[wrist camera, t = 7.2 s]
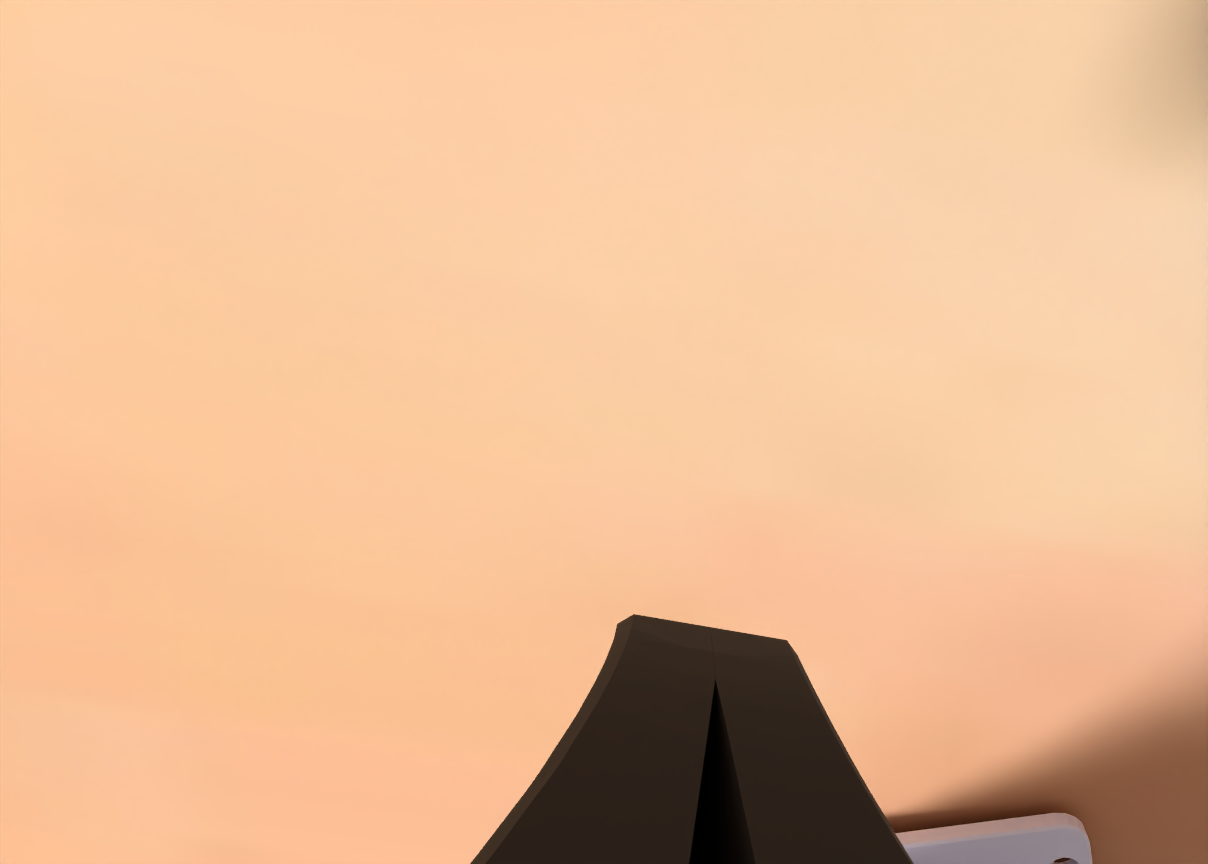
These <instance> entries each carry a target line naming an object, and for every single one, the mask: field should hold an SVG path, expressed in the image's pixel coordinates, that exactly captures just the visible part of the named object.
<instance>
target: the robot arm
mask: <svg viewBox="0 0 1208 864" xmlns="http://www.w3.org/2000/svg"><path fill="white" fill-rule="evenodd" d="M1060 858H1070V859H1069V860H1068V861H1065V862H1061V863H1054V861H1055V860H1057V859H1060ZM471 864H1093V863H1092V855H1091V847H1090V841H1089V839H1088V836H1087V834H1086V831H1085V829H1084V826H1083V824H1082V822H1081V821H1080V820H1078V819H1077V818H1076V817H1075V816H1072V815H1069V814H1066V813H1048V814H1040V815H1033V816H1025V817H1017V818H1009V819H1002V820H994V821H986V822H979V823H971V824H963V825H955V826H948V827H940V828H932V829H924V830H917V831H909V832H901V833H895V832H894V830H893V829H892V827H891V825H890V824H889V822H888V821H887V819H886V817H885V816H884V814H883V812H882V811H881V809H880V807H879V806H878V804H877V802H876V801H875V799H874V798H873V796H872V794H871V793H870V791H869V789H868V787H867V786H866V784H865V782H864V780H863V779H862V777H861V775H860V774H859V772H858V770H857V768H856V767H855V765H854V763H853V761H852V759H851V758H850V756H849V754H848V752H847V750H846V748H845V747H844V745H843V743H842V741H841V739H840V737H839V736H838V734H837V732H836V730H835V728H834V726H833V725H832V723H831V721H830V719H829V717H828V715H827V713H826V711H825V709H824V707H823V706H822V704H821V702H820V700H819V698H818V696H817V694H816V692H815V690H814V688H813V686H812V684H811V682H810V680H809V678H808V676H807V674H806V672H805V670H804V668H803V666H802V664H801V662H800V660H799V658H798V655H797V654H796V653H795V651H794V650H793V648H792V647H791V645H790V644H789V643H788V641H787V640H782V639H776V638H770V637H764V636H758V635H753V634H747V633H741V632H735V631H729V630H723V629H717V628H711V627H705V626H700V625H694V624H688V623H682V622H676V621H670V620H664V619H658V618H652V617H647V616H641V615H635V614H634V615H632V616H630V617H628V618H627V619H625V620H623V621H622V622H620V623H618V624H617V628H616V632H615V637H614V640H613V643H612V646H611V648H610V651H609V653H608V656H607V658H606V661H605V663H604V665H603V667H602V669H601V671H600V673H599V675H598V677H597V679H596V681H595V683H594V685H593V687H592V689H591V690H590V692H589V694H588V696H587V698H586V699H585V701H584V703H583V705H582V707H581V708H580V710H579V712H578V714H577V715H576V717H575V719H574V720H573V722H572V723H571V725H570V726H569V728H568V729H567V731H566V732H565V734H564V736H563V737H562V739H561V740H560V742H559V743H558V745H557V746H556V748H555V749H554V751H553V752H552V754H551V756H550V757H549V759H548V760H547V762H546V763H545V765H544V766H543V768H542V769H541V771H540V773H539V774H538V775H537V777H536V778H535V780H534V781H533V783H532V784H531V785H530V787H529V788H528V790H527V791H526V792H525V794H524V795H523V796H522V797H521V799H520V800H519V801H518V803H517V804H516V805H515V807H514V808H513V809H512V810H511V812H510V813H509V814H508V816H507V817H506V818H505V820H504V821H503V822H502V823H501V825H500V826H499V827H498V829H497V830H496V831H495V833H494V834H493V835H492V837H491V838H490V839H489V840H488V842H487V843H486V844H485V846H484V847H483V848H482V850H481V851H480V852H479V853H478V855H477V856H476V857H475V859H474V860H473V861H472V862H471Z"/></svg>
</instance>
